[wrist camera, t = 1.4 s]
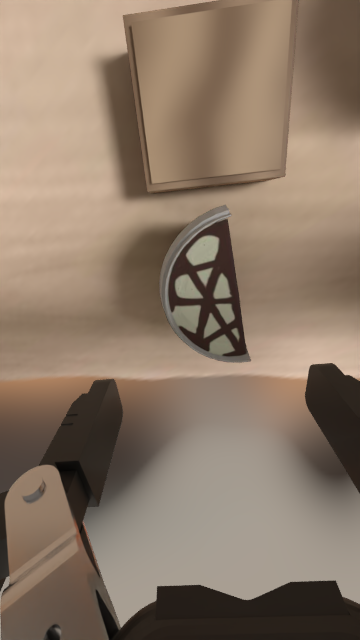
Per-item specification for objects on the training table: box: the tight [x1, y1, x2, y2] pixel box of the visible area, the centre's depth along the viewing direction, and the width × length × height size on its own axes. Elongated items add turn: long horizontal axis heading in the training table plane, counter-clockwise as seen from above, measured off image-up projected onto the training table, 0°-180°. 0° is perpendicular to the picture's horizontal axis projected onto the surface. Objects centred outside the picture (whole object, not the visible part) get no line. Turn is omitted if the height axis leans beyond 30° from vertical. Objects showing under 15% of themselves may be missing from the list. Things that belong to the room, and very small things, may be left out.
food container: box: [159, 205, 251, 362], centre depth 22 cm, size 12×6×10 cm, turn 13°
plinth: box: [123, 0, 299, 193], centre depth 19 cm, size 11×10×4 cm
